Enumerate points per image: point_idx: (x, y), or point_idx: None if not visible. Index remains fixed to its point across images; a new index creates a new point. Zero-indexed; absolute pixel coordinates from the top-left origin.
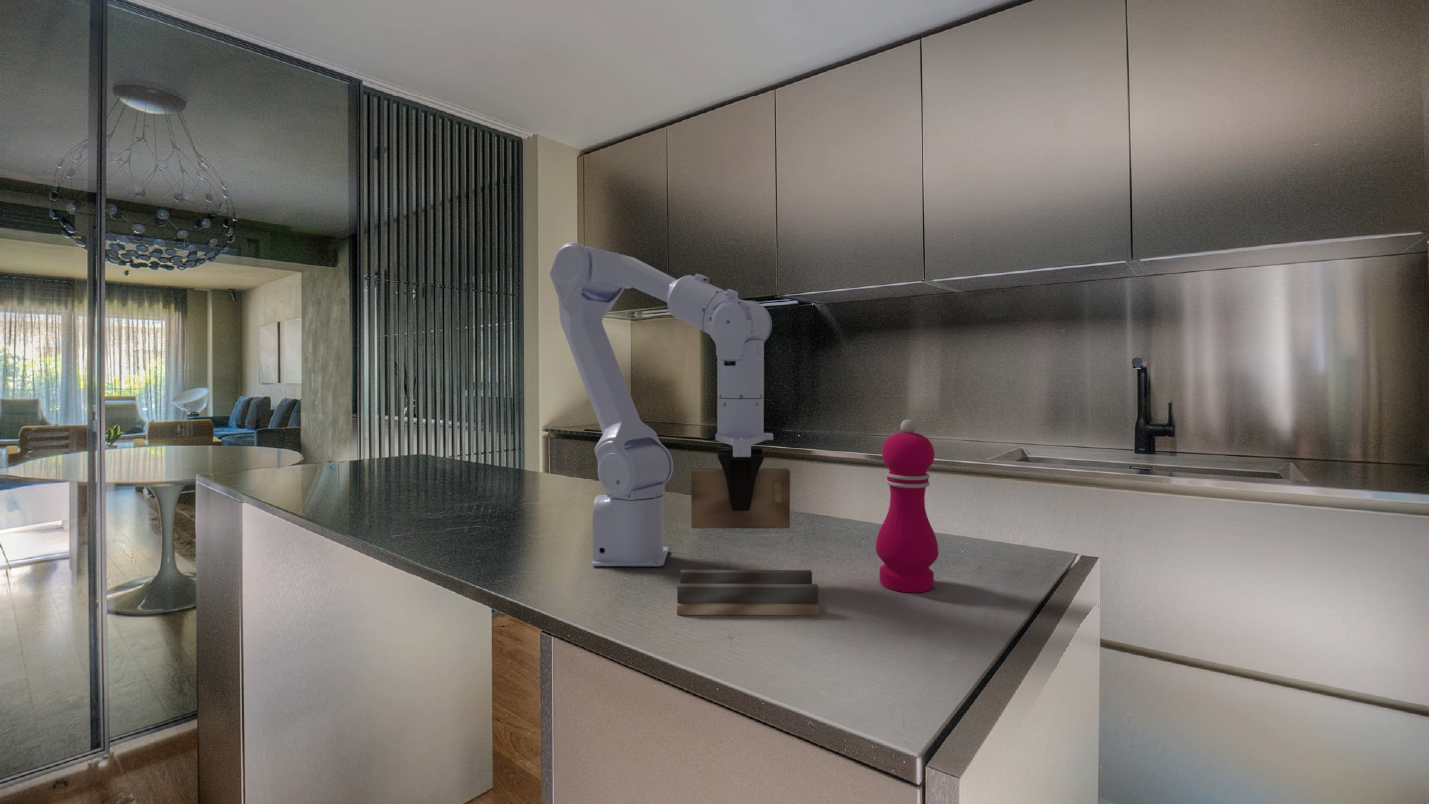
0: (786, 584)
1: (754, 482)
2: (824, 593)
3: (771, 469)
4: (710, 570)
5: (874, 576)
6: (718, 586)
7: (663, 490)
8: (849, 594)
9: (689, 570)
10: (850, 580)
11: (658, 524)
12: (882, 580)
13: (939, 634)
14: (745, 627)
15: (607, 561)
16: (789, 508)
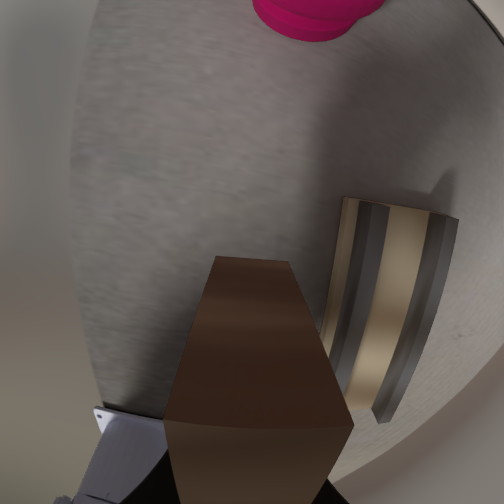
0: (436, 275)
1: (335, 491)
2: (349, 168)
3: (222, 496)
4: None
5: (249, 36)
6: (409, 378)
7: (84, 496)
8: (358, 121)
9: None
10: (273, 89)
11: (142, 470)
12: (318, 38)
13: (487, 80)
14: (444, 321)
15: None
16: (298, 291)
